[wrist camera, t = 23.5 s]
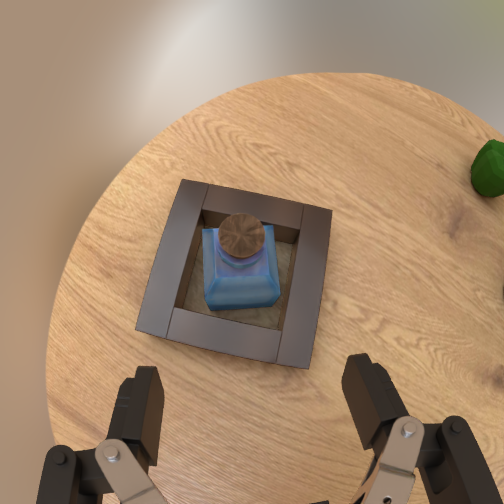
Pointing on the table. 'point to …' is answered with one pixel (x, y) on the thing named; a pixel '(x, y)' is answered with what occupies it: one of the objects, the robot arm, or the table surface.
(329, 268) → the table surface
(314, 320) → the holder
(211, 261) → the perfume bottle
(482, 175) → the bell pepper
